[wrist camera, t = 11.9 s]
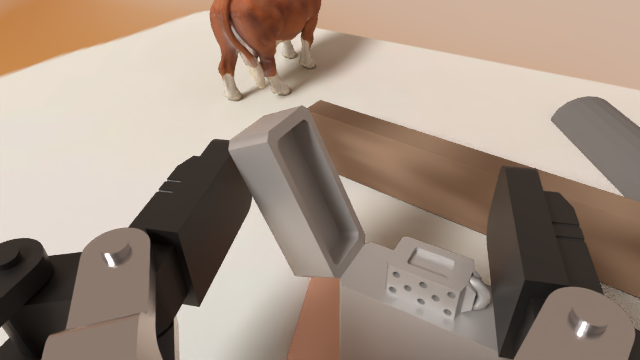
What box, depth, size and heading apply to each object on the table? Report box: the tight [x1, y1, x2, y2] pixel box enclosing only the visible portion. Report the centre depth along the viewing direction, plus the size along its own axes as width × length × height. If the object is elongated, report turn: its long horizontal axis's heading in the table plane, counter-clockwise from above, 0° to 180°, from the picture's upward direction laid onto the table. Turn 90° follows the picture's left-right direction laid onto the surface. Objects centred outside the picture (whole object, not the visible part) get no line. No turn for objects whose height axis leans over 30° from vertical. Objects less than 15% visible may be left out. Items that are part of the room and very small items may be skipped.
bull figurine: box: [210, 0, 321, 101], centre depth 30 cm, size 4×13×8 cm, turn 151°
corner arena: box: [308, 100, 640, 298], centre depth 16 cm, size 19×8×3 cm, turn 53°
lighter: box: [228, 106, 508, 360], centre depth 12 cm, size 7×2×8 cm, turn 60°
